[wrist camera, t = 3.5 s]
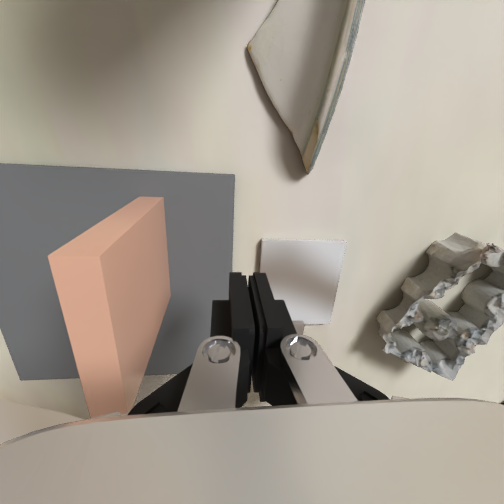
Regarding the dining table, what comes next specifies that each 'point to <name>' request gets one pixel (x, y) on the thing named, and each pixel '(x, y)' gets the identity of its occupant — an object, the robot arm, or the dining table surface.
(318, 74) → the ceramic fragment
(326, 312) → the turner
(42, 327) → the mat
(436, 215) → the dining table surface
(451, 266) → the egg carton
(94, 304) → the tile
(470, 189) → the dining table surface
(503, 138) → the dining table surface
